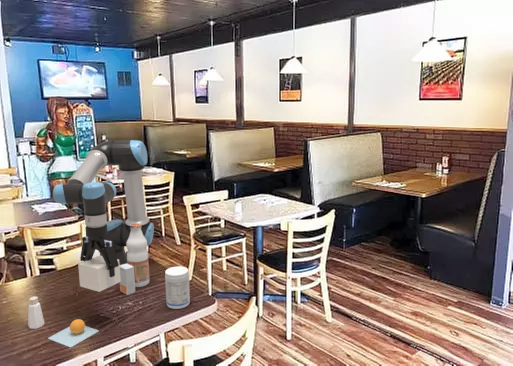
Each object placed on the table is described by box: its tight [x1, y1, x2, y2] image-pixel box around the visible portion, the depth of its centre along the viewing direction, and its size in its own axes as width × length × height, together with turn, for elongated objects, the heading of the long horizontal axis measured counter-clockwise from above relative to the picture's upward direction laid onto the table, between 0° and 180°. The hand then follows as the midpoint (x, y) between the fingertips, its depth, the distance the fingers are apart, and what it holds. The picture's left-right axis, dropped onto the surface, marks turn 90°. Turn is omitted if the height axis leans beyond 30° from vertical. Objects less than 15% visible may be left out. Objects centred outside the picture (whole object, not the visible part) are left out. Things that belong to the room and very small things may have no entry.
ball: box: [69, 318, 86, 334], centre depth 151 cm, size 5×5×5 cm
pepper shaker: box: [27, 295, 45, 330], centre depth 156 cm, size 5×5×11 cm
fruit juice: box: [126, 223, 151, 288], centre depth 191 cm, size 9×9×28 cm
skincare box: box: [119, 263, 136, 296], centre depth 184 cm, size 6×4×12 cm
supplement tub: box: [164, 265, 191, 310], centre depth 172 cm, size 10×10×15 cm
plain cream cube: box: [77, 254, 121, 293], centre depth 159 cm, size 10×10×9 cm
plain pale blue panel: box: [47, 325, 100, 349], centre depth 151 cm, size 12×12×1 cm
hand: (100, 281), depth 159 cm, fingers closed on plain cream cube, 10 cm apart
